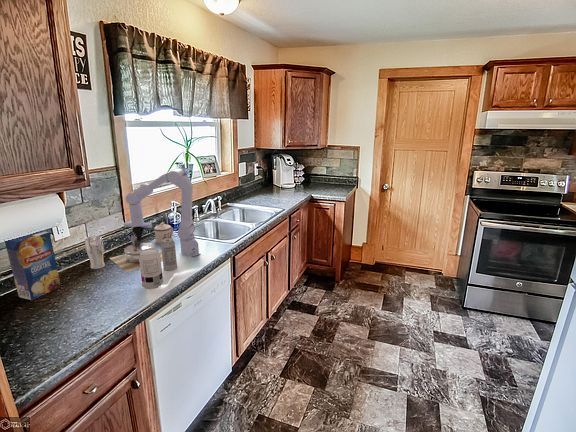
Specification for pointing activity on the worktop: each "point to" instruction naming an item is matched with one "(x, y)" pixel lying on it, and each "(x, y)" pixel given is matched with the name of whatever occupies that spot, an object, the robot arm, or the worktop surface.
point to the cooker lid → (137, 247)
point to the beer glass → (95, 251)
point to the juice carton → (33, 264)
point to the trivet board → (124, 264)
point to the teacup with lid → (163, 232)
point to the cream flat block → (132, 259)
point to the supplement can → (150, 268)
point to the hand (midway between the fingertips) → (139, 240)
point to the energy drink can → (169, 254)
